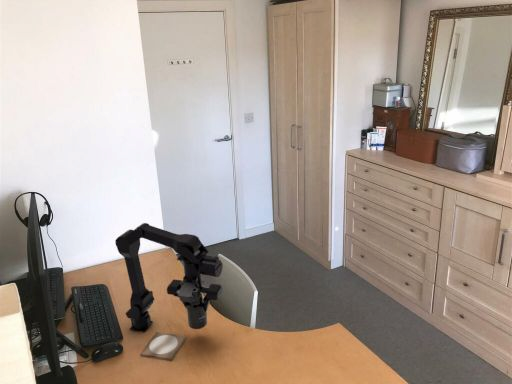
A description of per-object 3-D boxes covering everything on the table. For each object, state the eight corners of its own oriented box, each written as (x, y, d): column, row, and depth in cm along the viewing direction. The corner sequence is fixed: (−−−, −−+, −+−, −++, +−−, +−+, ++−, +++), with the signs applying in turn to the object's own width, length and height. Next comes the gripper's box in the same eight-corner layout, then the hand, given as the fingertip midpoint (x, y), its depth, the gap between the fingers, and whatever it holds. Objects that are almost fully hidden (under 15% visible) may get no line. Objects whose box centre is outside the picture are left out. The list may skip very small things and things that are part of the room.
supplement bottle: (204, 330, 156) (201, 302, 152) (185, 329, 157) (182, 300, 153) (209, 318, 162) (207, 290, 158) (192, 317, 164) (189, 289, 159)
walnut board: (140, 355, 156) (140, 353, 155) (156, 333, 166) (156, 331, 166) (172, 361, 152) (171, 358, 152) (186, 338, 163) (185, 335, 163)
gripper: (157, 281, 147) (162, 320, 153) (209, 287, 143) (213, 327, 148) (171, 264, 157) (176, 301, 163) (221, 269, 153) (224, 307, 158)
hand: (196, 309), depth 158 cm, fingers closed on supplement bottle, 7 cm apart
